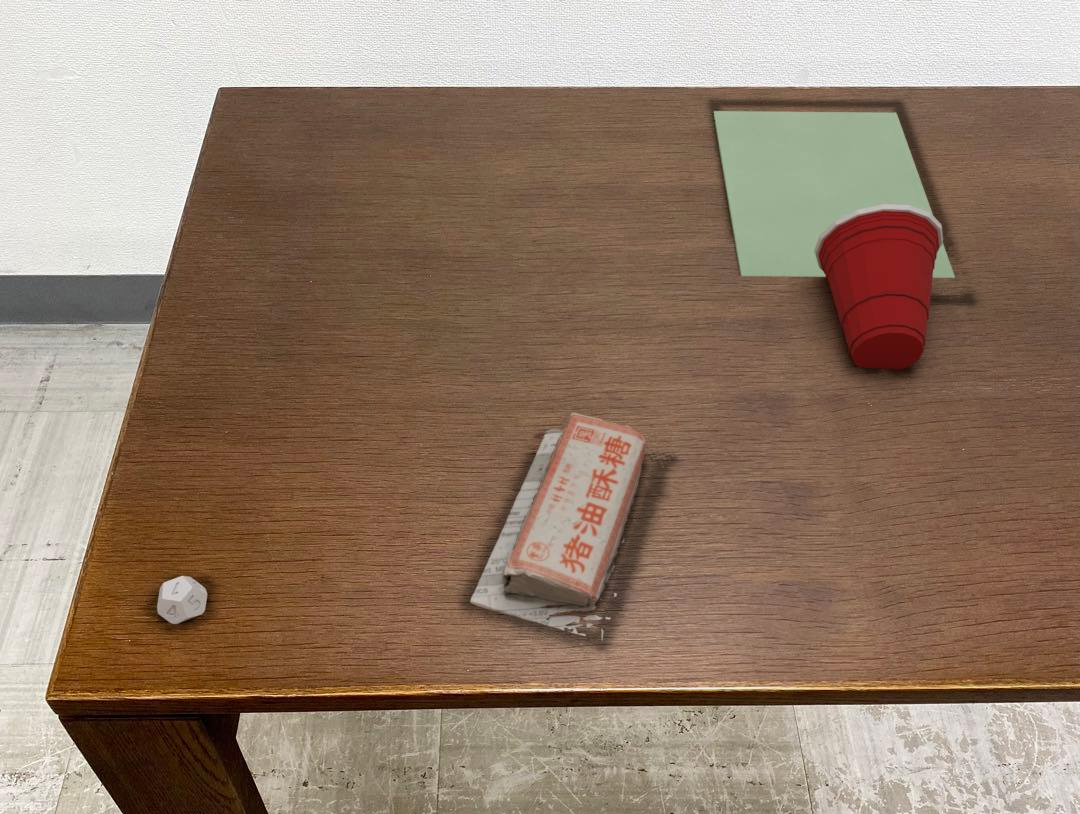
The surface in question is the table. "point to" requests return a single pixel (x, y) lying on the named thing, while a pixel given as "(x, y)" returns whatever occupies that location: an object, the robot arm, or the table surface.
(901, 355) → the plastic cup
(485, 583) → the packaged product
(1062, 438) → the table surface
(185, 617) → the game die
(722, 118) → the mat
